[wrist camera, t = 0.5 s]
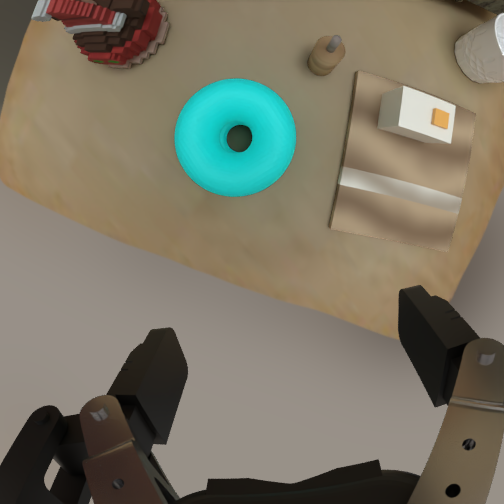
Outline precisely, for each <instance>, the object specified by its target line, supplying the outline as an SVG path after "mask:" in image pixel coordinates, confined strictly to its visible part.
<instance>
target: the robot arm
mask: <svg viewBox="0 0 504 504" xmlns="http://www.w3.org/2000/svg"><path fill="white" fill-rule="evenodd" d="M398 332H399V338H400V341H401V344H402V346H403V347H404V349H405V351H406V353H407V355H408V356H409V358H410V360H411V362H412V364H413V366H414V368H415V369H416V371H417V373H418V375H419V377H420V379H421V381H422V383H423V385H424V387H425V389H426V391H427V392H428V395H429V397H430V398H431V400H432V403H433V405H434V407H438V406H441V405H444V404H447V405H448V408H447V411H446V414H445V417H444V420H443V423H442V426H441V428H440V431H439V434H438V437H437V439H436V442H435V444H434V447H433V449H432V452H431V454H430V457H429V459H428V461H427V463H426V466H425V468H424V470H423V472H422V475H421V476H419V475H416V474H413V473H409V472H404V471H398V470H381V467H380V463H379V460H374V461H370V462H365V463H361V464H356V465H351V466H346V467H341V468H336V469H334V470H331V471H329V472H326V473H323V474H320V475H318V476H315V477H312V478H309V479H307V480H303V481H301V482H297V483H292V484H287V483H278V482H271V481H263V480H257V479H250V478H240V479H208V483H207V488H206V490H202V491H199V492H195V493H192V494H189V495H187V496H185V497H182V498H180V497H179V496H178V495H177V493H176V492H175V490H174V489H173V487H172V485H171V484H170V482H169V480H168V479H167V477H166V475H165V473H164V472H163V470H162V468H161V466H160V465H159V463H158V461H157V459H156V457H155V456H154V454H153V453H152V451H151V449H152V446H153V444H165V445H166V443H167V440H168V437H169V434H170V430H171V427H172V424H173V421H174V418H175V414H176V411H177V408H178V405H179V402H180V399H181V395H182V392H183V389H184V386H185V383H186V380H187V375H188V367H187V363H186V360H185V357H184V354H183V352H182V349H181V347H180V344H179V342H178V339H177V337H176V334H175V332H174V330H173V329H172V328H161V329H152V330H150V332H149V334H148V335H147V337H146V339H145V341H144V342H143V344H140V345H138V346H137V347H136V348H135V349H134V350H133V351H132V352H131V353H130V354H129V356H128V358H127V360H126V363H124V365H123V367H122V368H121V371H120V372H119V374H118V375H117V377H116V379H115V380H114V382H113V384H112V386H111V387H110V389H109V391H108V393H107V395H102V396H98V397H95V398H93V399H91V400H90V401H88V402H87V403H86V404H85V405H84V406H83V407H82V409H81V411H80V414H76V415H70V416H65V417H63V415H62V414H61V413H60V411H59V410H58V408H57V407H55V406H50V405H48V406H43V407H41V408H39V409H37V410H36V411H34V412H33V413H32V414H31V416H30V417H29V419H28V420H27V422H26V423H25V425H24V427H23V428H22V430H21V431H20V433H19V435H18V436H17V438H16V439H15V441H14V443H13V445H12V446H11V448H10V450H9V451H8V453H7V455H6V456H5V458H4V460H3V462H2V463H1V465H0V504H89V502H90V498H91V496H92V499H93V502H94V504H485V503H486V500H487V497H488V494H489V490H490V487H491V484H492V480H493V477H494V473H495V470H496V466H497V462H498V457H499V453H500V449H501V444H502V439H503V433H504V345H503V344H502V343H500V342H498V341H496V340H494V339H490V338H480V337H479V336H478V335H477V334H476V333H475V331H474V330H473V329H472V328H471V327H470V326H469V325H468V323H467V322H466V321H465V320H464V319H463V318H462V317H460V315H459V313H458V312H457V311H455V309H454V308H453V307H452V306H451V305H450V304H449V303H448V301H446V300H444V299H442V298H440V297H438V296H432V297H431V296H430V295H429V294H428V292H427V291H426V290H425V289H424V288H423V287H422V286H421V285H418V286H414V287H409V288H405V289H401V290H400V291H399V314H398ZM52 459H54V460H55V461H56V462H57V463H58V464H59V465H60V466H61V467H60V469H59V471H58V473H57V475H56V478H55V480H54V482H53V485H52V487H51V489H50V491H49V490H48V489H47V488H46V486H45V483H44V476H45V473H46V471H47V469H48V467H49V465H50V463H51V461H52Z"/></svg>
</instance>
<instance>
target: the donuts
mask: <svg viewBox="0 0 504 504" xmlns="http://www.w3.org/2000/svg"><path fill="white" fill-rule="evenodd" d="M236 125H245V126H248V127H249V128H250V130H251V132H252V142H251V145H250V146H249V147H248V149H246V150H245V151H243V152H236V151H233V150H232V149H231V148H230V147H229V146H228V144H227V134H228V132H229V130H230V129H231V128H232V127H234V126H236ZM174 139H175V149H176V153H177V157H178V159H179V162H180V164H181V166H182V167H183V169H184V171H185V172H186V173H187V175H188V176H189V177H190V178H191V179H192V180H193V181H194V182H195V183H197V184H198V185H199V186H201V187H202V188H204V189H206V190H208V191H210V192H212V193H215V194H218V195H222V196H229V197H240V196H247V195H251V194H254V193H257V192H260V191H262V190H264V189H266V188H267V187H269V186H270V185H272V184H273V183H274V182H276V181H277V180H278V179H279V178H280V177H281V176H282V174H283V173H284V172H285V170H286V169H287V167H288V166H289V164H290V162H291V160H292V157H293V154H294V150H295V145H296V128H295V123H294V120H293V117H292V114H291V112H290V110H289V108H288V107H287V105H286V104H285V102H284V101H283V100H282V99H281V97H280V96H279V95H278V94H276V93H275V92H274V91H273V90H271V89H270V88H268V87H267V86H265V85H263V84H261V83H258V82H255V81H252V80H247V79H239V78H234V79H225V80H220V81H217V82H214V83H211V84H209V85H207V86H205V87H204V88H202V89H201V90H199V91H198V92H197V93H195V94H194V95H193V96H192V97H191V98H190V99H189V100H188V102H187V103H186V104H185V106H184V107H183V109H182V111H181V113H180V115H179V117H178V120H177V123H176V127H175V136H174Z"/></svg>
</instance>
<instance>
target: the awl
mask: <svg viewBox="0 0 504 504" xmlns="http://www.w3.org/2000/svg"><path fill="white" fill-rule="evenodd" d="M341 41H342V39H341V37H340V36H338V35H335V36H333V37H332V36H324V37H322V38H320V39H319V40H318V41H317V42H316V45H315V47H314V49H313V51H312V53H311V55H310V57H309V59H308V67H309V69H310V70H311V72H313V73H314V74H316V75H319V76H325V75H327V74H329V73H330V72H331V71H332V70H333V69H334V68H335V66H336V65H337V64H338V63H339V62H340V61H341V60H342V59H343V57H344V55H345V47H344V45H343V43H342V42H341Z"/></svg>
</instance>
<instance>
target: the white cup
mask: <svg viewBox="0 0 504 504" xmlns="http://www.w3.org/2000/svg"><path fill="white" fill-rule="evenodd" d="M454 52H455V56H456V60H457V63H458V65H459V66H460V68H461V70H462V71H463V73H464V74H465V75H466V76H468V77H469V78H470V79H471V80H472V81H475V82H478V83H489V82H494V83H500V82H504V13H501V14H499V15H497V16H495V17H494V18H492V19H490V20H488V21H486V22H484V23H482V24H480V25H479V26H477V27H476V28H474V29H472V30H471V31H469V32H468V33H467V34H465V35H463V36H461V37H460V38H459V39H458V40H457V42H456V43H455V51H454Z"/></svg>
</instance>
